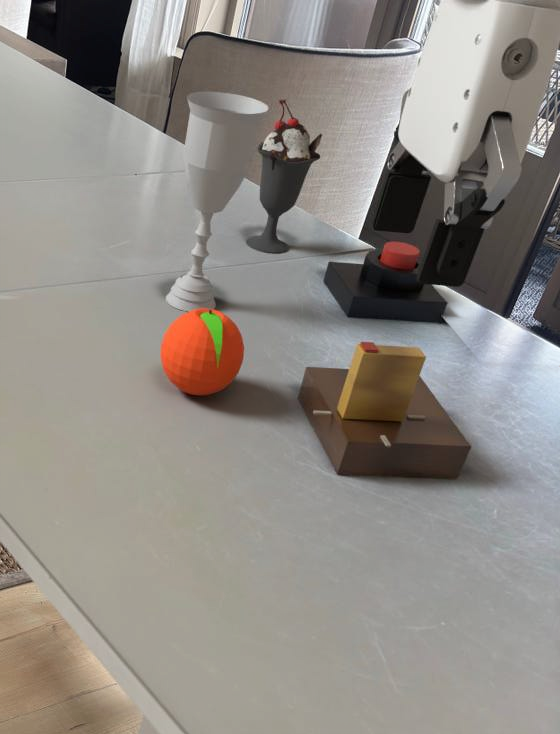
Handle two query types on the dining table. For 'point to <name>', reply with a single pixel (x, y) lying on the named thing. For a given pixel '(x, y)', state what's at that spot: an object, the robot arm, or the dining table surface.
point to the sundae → (282, 176)
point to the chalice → (214, 175)
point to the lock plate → (383, 433)
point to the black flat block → (383, 291)
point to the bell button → (400, 255)
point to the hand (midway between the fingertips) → (413, 255)
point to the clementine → (202, 351)
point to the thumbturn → (380, 382)
